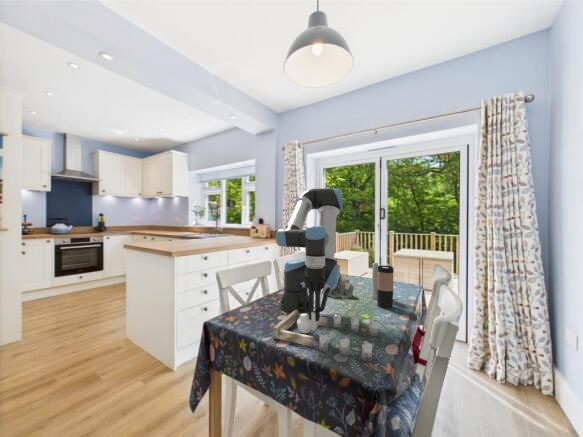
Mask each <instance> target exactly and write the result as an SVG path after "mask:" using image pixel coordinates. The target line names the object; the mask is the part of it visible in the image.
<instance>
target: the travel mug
mask: <svg viewBox="0 0 583 437" xmlns="http://www.w3.org/2000/svg"><path fill="white" fill-rule="evenodd" d="M394 269H395V268H394V267H393V266H390V265H383V264H382V265H378V282H377V299H376V300H377V307H379V308H382V309H387V310H389V309H392V308H393V304H394V300H393V297H394V272H395V271H394Z"/></svg>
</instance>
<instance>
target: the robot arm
mask: <svg viewBox="0 0 583 437" xmlns="http://www.w3.org/2000/svg"><path fill="white" fill-rule="evenodd" d="M342 199H343V198H342V191H341V189H340V188H336V187H335V188H333V187H332V188H327V187H326V188H310V189H307V190H305V191H303V192H302V193H300V194H299V195H298V197H297V198H296V199H295V201H294V208H293V210H292V212H291V215H290V217H289V218H288V221H287V223H286V225H285V228H281V229H277V231H276V233H275V242H276V245H277V246H279V247H285V248H287V247H288V248H305V254H304V255H305V258H301V259H300V258H299V259H292V260H288V261H286V262H285V263H284V270H283V273H284V274H283V276H284V277H283V293H282V296H281V300H280V302H279V303H280V304H279V307H280V310H282V311H284V312H287V313H292V312H293V311H294V310H298V313H306V312H308V315H309V320H311V330H312V331H316V330H317V328H318V325H317V321H319V319H320V317H321V314H320V313H323V312H324V311H325V310H326V306H327V301H328V298H329V297H328V294H329V291H330V290H331V289H335V288H336V287H337V284H338V279H339V272H340V270H341V265H340V264H339V263H338V260H337V259H336V258H335V250H336V232H337V231H336V229H337V217H338V215H339V214H340V211H342V210H343V200H342ZM312 210H317V213H318V214H319V215H320V216H319V224H318V225H308V226H306V229H303V228H304V225H305V223H306V221H307V217H308V214H309V212H311V211H312ZM340 273H341V272H340ZM322 289H324V290H325V292H324V295H322V299H321V292H322ZM321 300H322V301H321ZM311 330H310V331H311Z"/></svg>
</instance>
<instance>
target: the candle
mask: <svg viewBox="0 0 583 437" xmlns="http://www.w3.org/2000/svg"><path fill="white" fill-rule="evenodd" d="M378 266H379V263H378V262H373V263H372V272H371V273H372V275H371V276H372V277H371V280H372V281H371V298H372V297H373V298H372V299H374V298H375V299H374V300H377V282H378Z"/></svg>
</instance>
